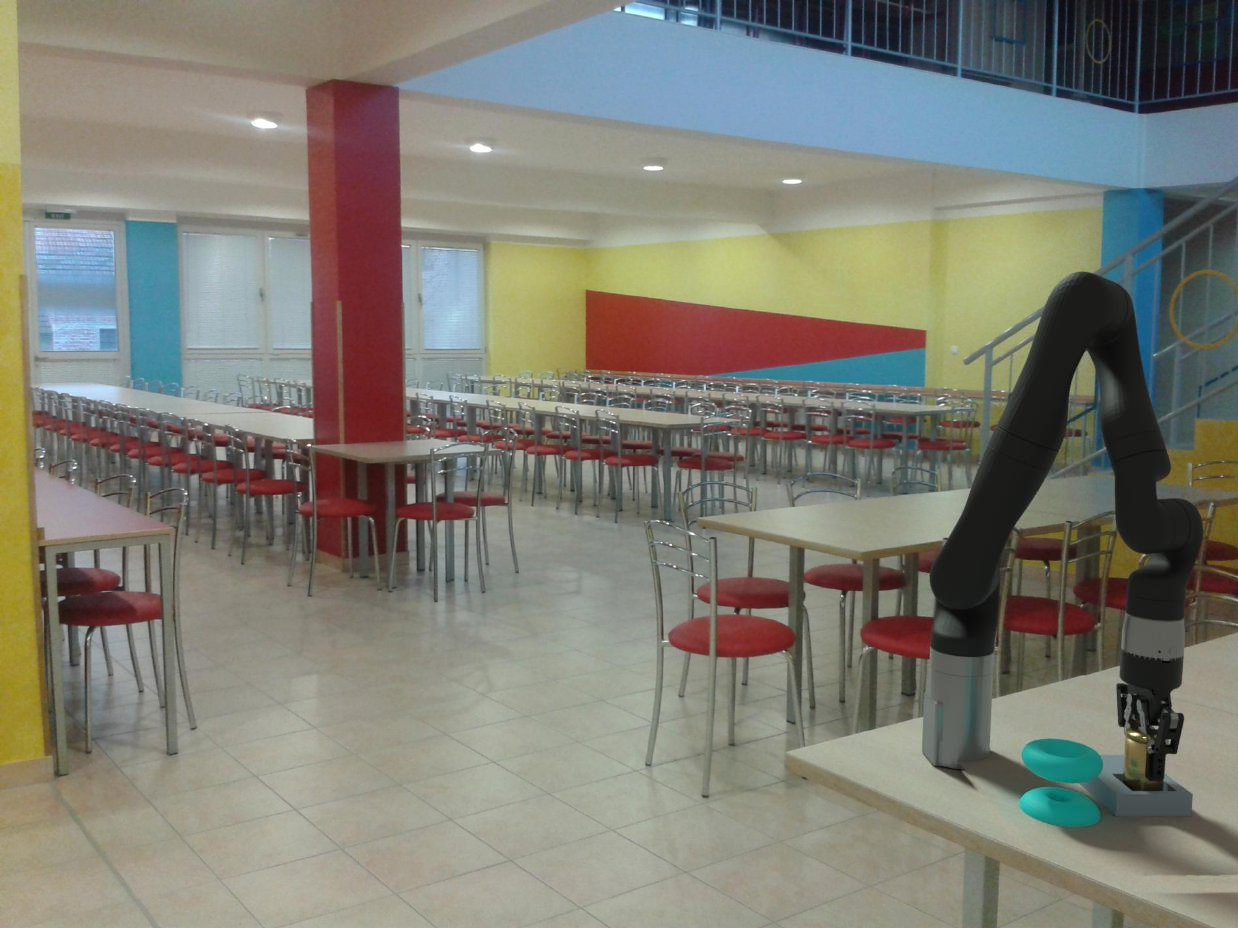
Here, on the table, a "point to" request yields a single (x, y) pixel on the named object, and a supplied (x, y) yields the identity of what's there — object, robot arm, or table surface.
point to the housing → (1137, 794)
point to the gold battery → (1137, 762)
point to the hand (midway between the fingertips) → (1144, 771)
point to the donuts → (1062, 766)
